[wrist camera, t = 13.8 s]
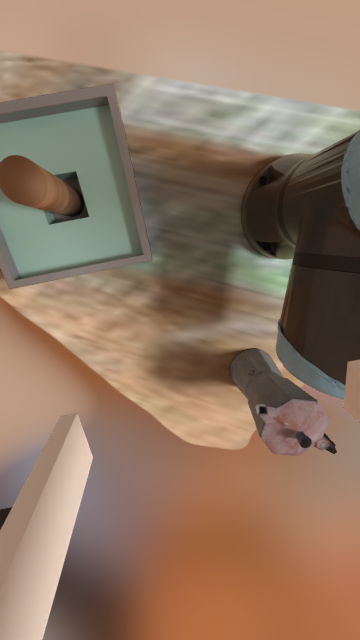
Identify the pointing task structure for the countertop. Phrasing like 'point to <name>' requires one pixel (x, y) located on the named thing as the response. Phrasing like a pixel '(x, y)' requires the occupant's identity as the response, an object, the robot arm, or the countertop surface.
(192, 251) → the countertop surface
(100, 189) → the bore box
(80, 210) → the walnut peg
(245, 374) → the moka pot
